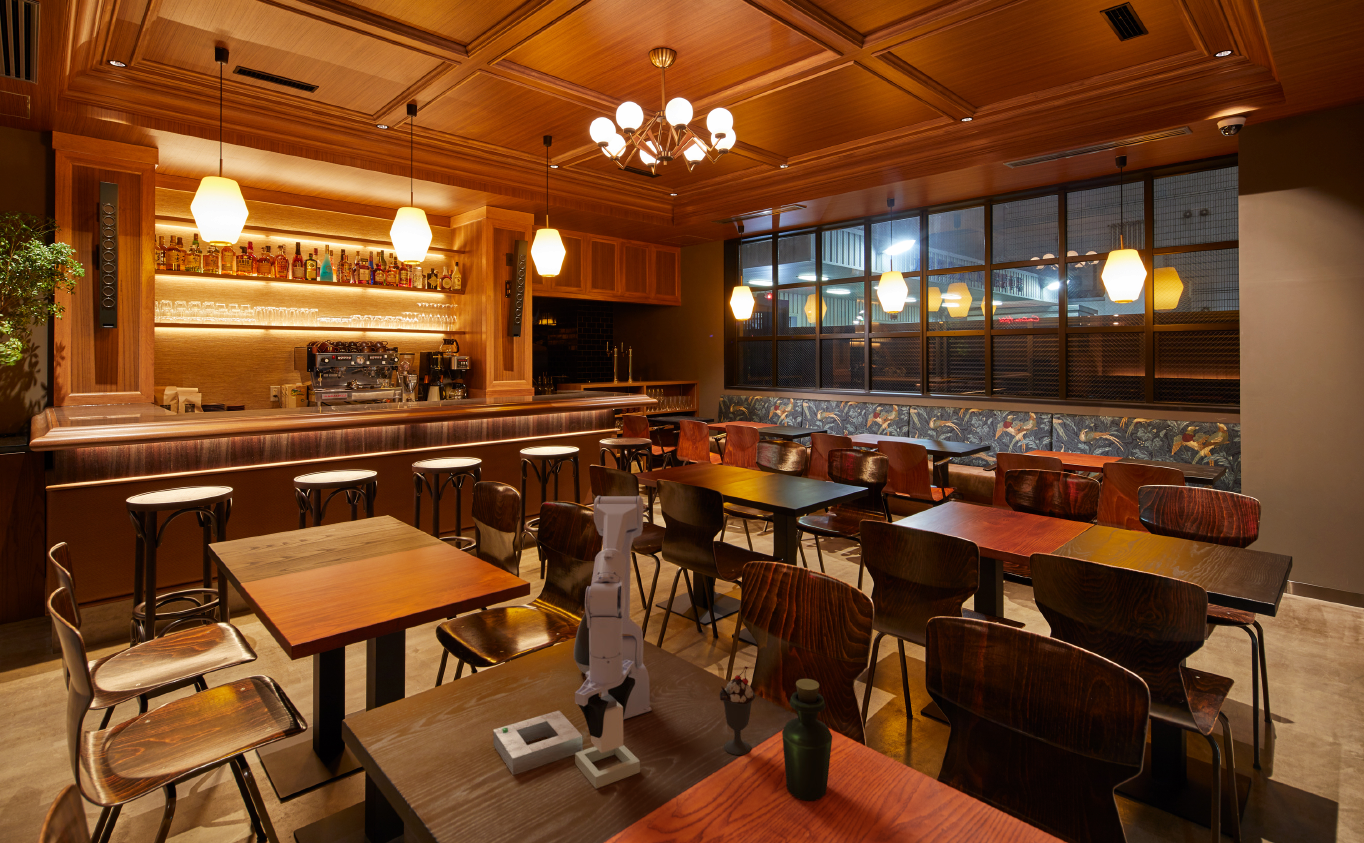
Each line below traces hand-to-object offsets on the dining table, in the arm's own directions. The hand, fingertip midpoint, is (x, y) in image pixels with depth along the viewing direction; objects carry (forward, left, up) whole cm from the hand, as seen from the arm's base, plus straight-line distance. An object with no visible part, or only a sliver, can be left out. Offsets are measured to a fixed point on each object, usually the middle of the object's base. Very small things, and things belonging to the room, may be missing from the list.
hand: (606, 727), depth 115 cm
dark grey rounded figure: (-15, -35, -8) cm, 39 cm away
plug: (0, 0, -3) cm, 3 cm away
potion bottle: (-25, +24, -8) cm, 35 cm away
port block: (+8, -12, -7) cm, 17 cm away
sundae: (-23, +8, -8) cm, 25 cm away
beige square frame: (0, 0, -7) cm, 7 cm away
